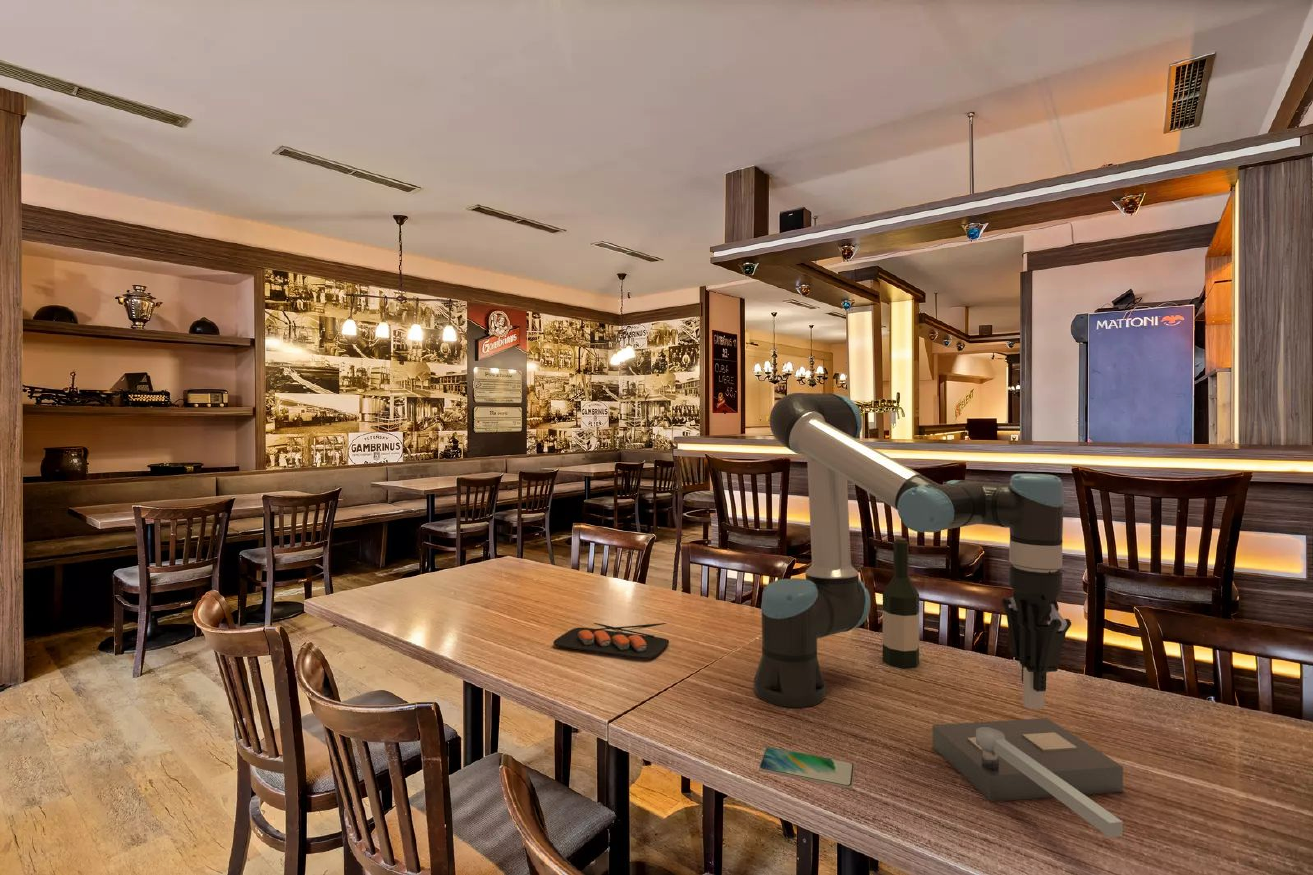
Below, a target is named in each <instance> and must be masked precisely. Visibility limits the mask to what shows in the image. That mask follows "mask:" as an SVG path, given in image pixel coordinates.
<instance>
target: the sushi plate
mask: <svg viewBox="0 0 1313 875" xmlns="http://www.w3.org/2000/svg"><path fill="white" fill-rule="evenodd" d="M593 624H594V625H597V626H600V628H593V627H592V628H591V627H574V628H572V629H570V630H568V631H567V632H565V633H563V634H561V635H559V637H557V638H556V639H555V640H553V645H554V646H556V647H561V648H567V649H574V650H578V651H579V650H580V651H588V652H594V653H599V654H606V655H607V654H608V655H615V656H618V657H619V656H621V657H628V658H634V659H644V660H645V659H649V660H650V659H652V658H656V657H657V656H658V655H659V654H660V653H662V651H664V650H665V648H667V647H668V646H669V643H670V640H669V639H668V638H663V637H660V636H658V637H657V636H655V635H653V634H648V633H644V632H639V631H635V630H629V629H631V628H632V629H634V628H646V627H647V628H648V627H649V628H650V627H654V626H656V627H657V626H661V625H667V623H666V622H663V623H659V622H658V623H651V624H649V623H648V624H638V625H628V626H615V627H614V626H610V625H608V624H602V623H598V622H593ZM601 627H602V628H601ZM613 630H614V631H613ZM621 631H622V632H621Z"/></svg>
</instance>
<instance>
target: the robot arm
mask: <svg viewBox="0 0 1313 875" xmlns="http://www.w3.org/2000/svg"><path fill="white" fill-rule="evenodd" d="M769 414H770V415H769V427H770V430H771V433H772V435H773V437H774V438H775V439H776V440H777V441H778V442H779V443H780V444H781V445H782V446H784V447H785V448H786V449H788V450H790V451H791V452H793V453H794V454H797V455H801V456H802V457H803V458H804V459H805V460H806V461H807V480H808V481H807V482H808V484H807V485H808V486H807V487H808V504H809V508H808V509H809V525H810V526H809V527H810V529H809V531H810V549H811V565H809V568H807V569H806V571H805V578H797V577H791V578H789V579H788V578H782V579H778V580H774V581H772V582H770V583H768V584H767V585H766V586H765V587H764V589H763V590H762V593H761V596H762V598H761V604H760V609H761V657H760V660H759V661H758V662H759V663H758V666H757V669H756V670H755V671H756V672H755V675H754V678H753V691H754V693H755V695H756V696H757V697H759V698H760V699H762V701H764V702H766V703H767V702H768V703H770V704H773V705H776V706H781V707H787V708H788V707H789V708H804V707H812V706H815V705H817V704H820V703H822V702H823V701H824V700H825V699H826V697H827V696H826V695H827V687H826V685H827V684H826V681H825V678H824V675H823V672H822V669H821V666H820V663H819V660H818V639H821V638H824V637H829V636H831V635H836V634H839V633H846V632H849V631H851V630H853V629H855V628H858V627H860V626H861V625H863V623H864V622H866V620H867V619H868V617H869V615H870V612H871V605H872V603H871V594H870V592H869V589H868V588H866V587H865V586H866V585H865V583H864V582H863V581H862V580H861V579H860V577H859V571H858V570H857V568H854V566H853V565H852V561H851V560H852V557H851V538H850V537H851V536H850V533H851V532H850V517H849V516H850V515H849V514H850V513H849V511H850V510H849V494H848V481H849V482H850V483H853V484H854V485H856V486H857V487H859V488H861V489H862V490H864V491H865V492H867V493H869V494H870V495H871V496H873V497H875V498H877V499H879V500H880V501H882V502H883V503H885V504H886V505H889V506H890V507H892V508H893V509H895V510H896V511H897V514H898V516H899V519H901V521H902V523H903V525H904V526H905V527H907V529H909V530H911V531H913V532H917V533H936V532H940V531H945V530H950V529H955V528H962V527H968V526H969V527H970V526H974V525H985V526H993V527H1000V528H1006V529H1007V528H1009V554H1008V560H1009V563H1011V565H1010V566H1009V570H1008V572H1009V574H1008V575H1009V577H1008V578H1009V579H1008V580H1009V583H1008V584H1009V585H1008V586H1009V587H1010V589H1012V590H1014V591H1013V593H1012V596H1011V597H1010V598H1002V602H1001V603H1002V605H1003V607H1004V610H1005V614H1006V621H1007V628H1008V635H1009V642H1010V643H1009V644H1010V648H1011V655H1012V657H1013V658H1016V659H1018V661H1019V664H1020V665H1021V682H1022V706H1023V707H1025V708H1026V709H1028V710H1036V709H1037V710H1041V709H1045V692H1046V690H1047V673H1053V672H1055V673H1056V672H1057V671H1058V670H1059V666H1060V661H1061V657H1062V652H1063V648H1064V643H1065V638H1066V634H1067V632H1068V631H1069V629H1070V628H1071V626H1072V622H1071V620H1070V619H1069V618H1064V617H1063V616H1062V615H1061V613H1060V611H1059V609H1060V608H1059V604H1058V601H1057V597H1058V596H1059V595H1060V594H1062V592H1063V573H1062V571H1061V570H1060V569H1061V568H1062V567H1063V531H1064V530H1063V529H1064V526H1063V525H1064V507H1065V500H1064V485H1063V481H1062V478H1060V477H1059V476H1057V475H1052V474H1045V473H1016V474H1013V475H1011V477H1010V480H1009V481H1010V482H1009V483H995V482H994V483H993V482H986V481H985V482H984V481H975V480H973V481H972V480H970V479H969V480H968V479H964V480H963V479H960V480H958V479H957V480H956V479H953V480H948V481H947V482H945V484H939V483H938V482H936V481H933V480H932V479H930V478H928V477H926V476H924V475H923V474H921V473H920V472H917V471H915V470H914V469H911V468H910V467H908V466H906V465H905V464H903V463H901V462H899V461H897V460H895V459H893V458H892V457H890V456H888V455H886V454H885V453H882V452H881V451H879V450H878V449H876V448H874V447H871V446H870V445H868V444H866V443H864V442H862V441H861V440H859V439H858V437H859V435H860V434H861V431H862V427H863V419H862V414H861V411H860V409H859V407H858V405H857V404H856V403H855V402H854V401H853V400H852V399H851V398H850V397H847V396H845V395H842V394H837V393H833V392H832V393H829V392H827V393H822V392H821V393H818V392H817V393H815V392H813V393H809V392H808V393H805V392H793V393H790V394H786V395H784V396H782V397H781V398H780V399H779V400H777V401H776V402H775V404H774V405H773V407H772V409H771V411H770V413H769Z"/></svg>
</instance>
